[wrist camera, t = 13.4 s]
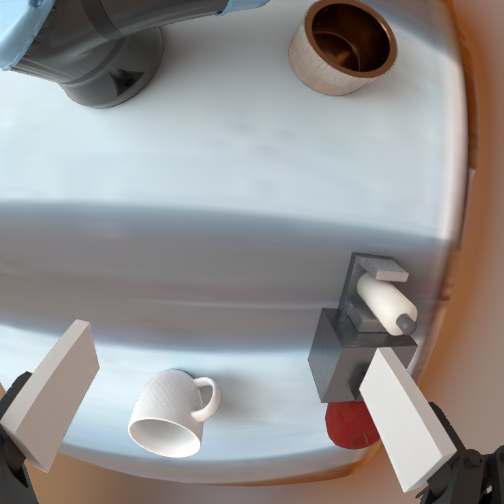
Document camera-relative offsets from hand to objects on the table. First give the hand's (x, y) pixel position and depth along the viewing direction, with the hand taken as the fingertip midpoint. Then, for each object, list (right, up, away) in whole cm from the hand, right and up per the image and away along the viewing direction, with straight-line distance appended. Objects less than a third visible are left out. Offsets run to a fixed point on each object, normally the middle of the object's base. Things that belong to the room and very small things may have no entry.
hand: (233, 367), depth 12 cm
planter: (+11, +30, +19) cm, 37 cm away
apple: (+19, -21, +36) cm, 46 cm away
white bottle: (+18, 0, +27) cm, 33 cm away
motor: (+17, -6, +31) cm, 36 cm away
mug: (-11, -17, +34) cm, 40 cm away
